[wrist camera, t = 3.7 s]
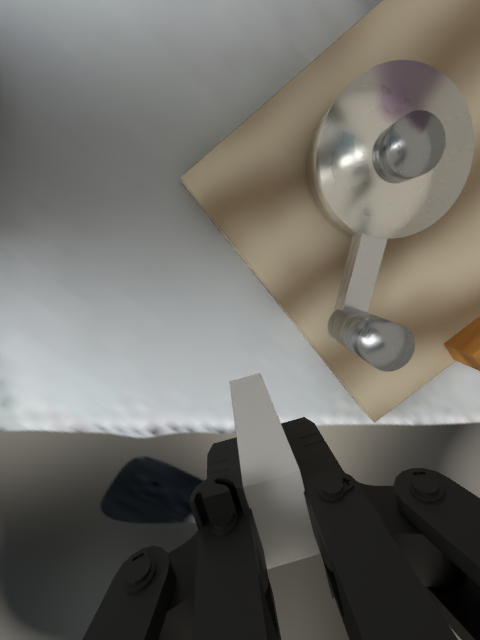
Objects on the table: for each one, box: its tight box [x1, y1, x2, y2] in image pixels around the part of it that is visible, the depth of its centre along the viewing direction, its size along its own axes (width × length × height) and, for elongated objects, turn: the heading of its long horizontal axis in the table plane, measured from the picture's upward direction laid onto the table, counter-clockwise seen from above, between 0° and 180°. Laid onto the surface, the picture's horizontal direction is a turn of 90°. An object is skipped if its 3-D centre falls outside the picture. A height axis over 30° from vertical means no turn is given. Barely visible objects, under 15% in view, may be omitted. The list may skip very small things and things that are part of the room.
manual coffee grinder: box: [307, 60, 474, 372], centre depth 16 cm, size 16×9×6 cm, turn 169°
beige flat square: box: [181, 0, 480, 423], centre depth 19 cm, size 22×20×4 cm
